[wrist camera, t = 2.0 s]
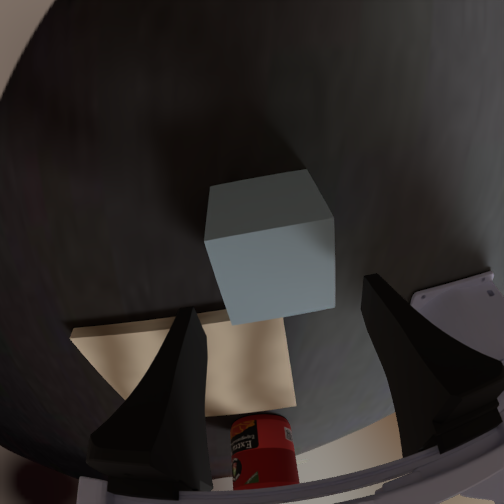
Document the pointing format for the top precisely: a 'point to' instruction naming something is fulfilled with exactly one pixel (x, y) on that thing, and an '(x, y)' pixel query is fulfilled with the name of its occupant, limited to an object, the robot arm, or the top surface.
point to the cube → (271, 246)
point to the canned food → (262, 452)
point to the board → (219, 360)
